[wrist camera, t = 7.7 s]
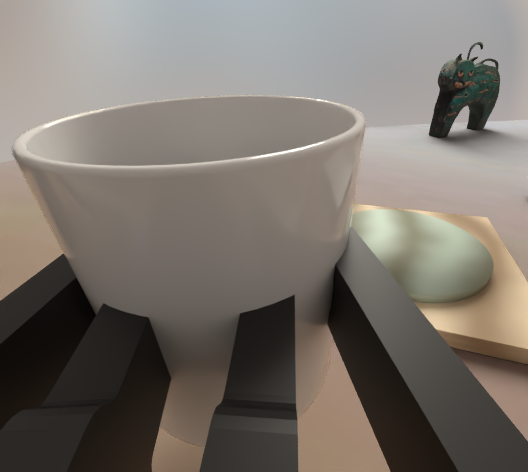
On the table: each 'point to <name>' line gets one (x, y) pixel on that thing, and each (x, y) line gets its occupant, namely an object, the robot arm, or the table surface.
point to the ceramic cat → (465, 93)
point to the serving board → (453, 276)
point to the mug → (203, 224)
